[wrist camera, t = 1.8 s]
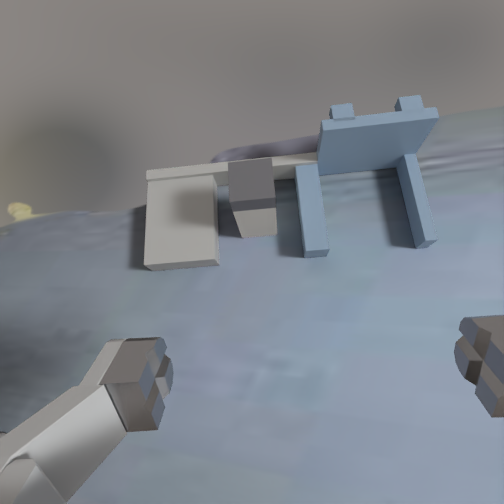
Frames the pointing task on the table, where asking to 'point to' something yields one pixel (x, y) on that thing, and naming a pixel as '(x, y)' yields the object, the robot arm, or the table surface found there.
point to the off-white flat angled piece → (193, 211)
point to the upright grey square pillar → (253, 197)
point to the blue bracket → (368, 165)
